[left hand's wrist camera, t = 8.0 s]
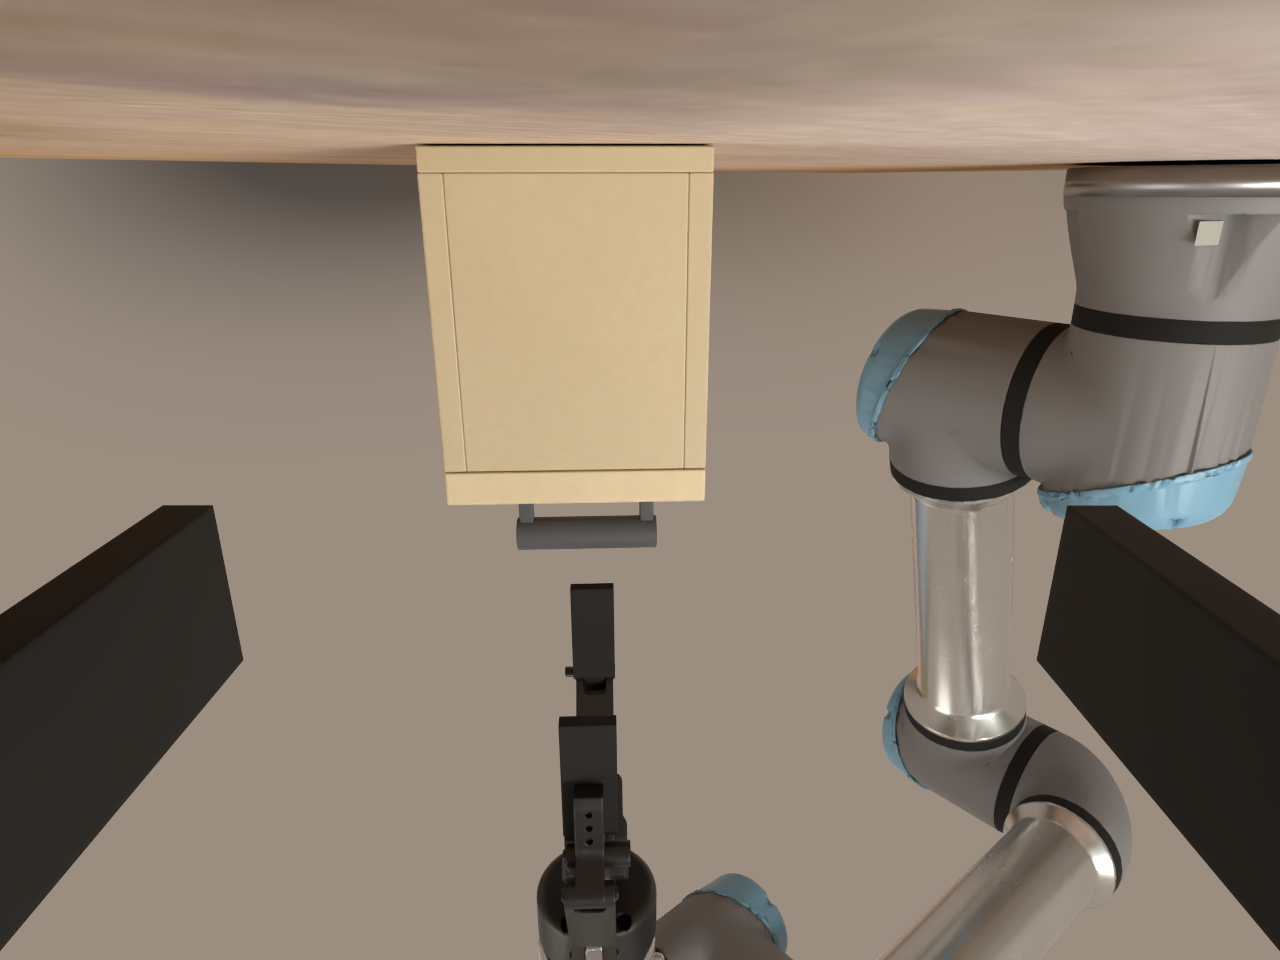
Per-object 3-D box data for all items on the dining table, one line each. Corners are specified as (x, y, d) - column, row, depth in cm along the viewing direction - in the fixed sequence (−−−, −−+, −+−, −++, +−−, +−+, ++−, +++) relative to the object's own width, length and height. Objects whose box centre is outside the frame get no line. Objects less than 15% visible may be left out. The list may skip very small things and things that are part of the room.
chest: (678, 158, 38) (675, 384, 41) (476, 158, 37) (492, 386, 41) (714, 145, 25) (705, 468, 29) (414, 145, 25) (444, 472, 29)
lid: (674, 381, 42) (672, 525, 45) (494, 383, 42) (504, 528, 45) (705, 469, 29) (700, 665, 32) (444, 473, 29) (462, 671, 32)
